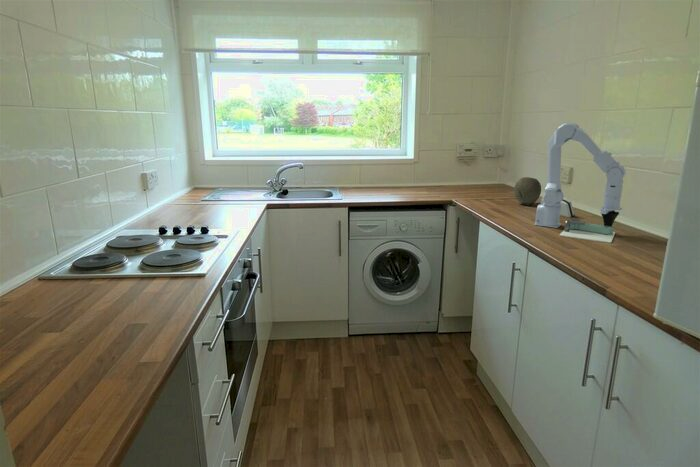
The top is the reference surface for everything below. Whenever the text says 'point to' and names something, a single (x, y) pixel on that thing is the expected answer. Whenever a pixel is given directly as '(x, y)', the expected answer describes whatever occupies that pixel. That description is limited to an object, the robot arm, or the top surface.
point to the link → (593, 228)
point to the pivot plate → (587, 234)
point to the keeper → (567, 223)
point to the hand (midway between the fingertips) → (607, 228)
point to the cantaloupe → (527, 190)
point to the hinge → (565, 208)
